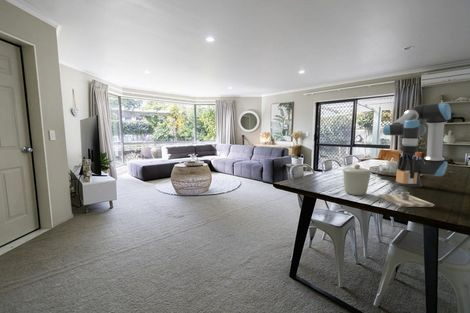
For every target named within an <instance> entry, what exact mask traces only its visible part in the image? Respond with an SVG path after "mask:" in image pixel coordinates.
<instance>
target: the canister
mask: <svg viewBox="0 0 470 313" xmlns="http://www.w3.org/2000/svg"><path fill="white" fill-rule="evenodd" d="M342 172H343V185H344V187H343V188H344V191H345V193H346V194H349V195H353V196H364V195H366V194H367V191H368V188H369V183H370V179H371V174H372V173H373V171H371V170H369V169H367V168H363V167H361V166H360V164H354V165H353V167H345V168H343V169H342Z"/></svg>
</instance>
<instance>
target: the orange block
mask: <svg viewBox="0 0 470 313" xmlns="http://www.w3.org/2000/svg"><path fill="white" fill-rule="evenodd" d="M409 172H410V171H400V170H396V173H395V174H396V175H395V176H396V178H395V182H397V183H398V182H399V183H403V184H408V173H409ZM417 174H418V172H417V173H414V178H413V184H417Z"/></svg>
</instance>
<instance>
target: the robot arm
mask: <svg viewBox="0 0 470 313" xmlns="http://www.w3.org/2000/svg"><path fill="white" fill-rule="evenodd" d="M451 119H452V108H451V105H450V104H449V103H444V102H443V103H442V102H441V103H440V102H439V103H429V104H418V105H416V106H412V107H411V108H409V109H407V110H406V111H404V113H403V115H402V116H400V117H399V118H397V119H396V120H395V121H394V122H392V123H389V124H385V125H383V128H382V132H383V133H382V134H384V136H402V140H401V141H402V143H401V152H402V153H400V154H399V153H398V162H397V168H396V169H397V170H398V171H410V172H409V173H408V184H403V183H399V182H397V185H400V186H403V187H408V188H421V187H422V185H423V184H422V183H423V182H422V181H421V176H420V175H426V176H433V177H442V176H444V175H445V174H446V171H447V167H448V161H446V160H445V157H443V146H444V131H445V124H447V123H448V120H451ZM421 121H425V123H426V125H427V127H428V128H426V126H425V125H424V124H421V123H420V122H421ZM426 132H427V144H426V156H424V157H423V159H422V157H420V156H418V155H416V153H417V151H418V144H419V136H422V135H424V134H425V133H426ZM417 172H418V174H417V184H413V178H414V173H417Z"/></svg>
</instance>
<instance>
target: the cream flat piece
mask: <svg viewBox="0 0 470 313" xmlns="http://www.w3.org/2000/svg"><path fill="white" fill-rule="evenodd" d="M377 196H378V198H380V199H383V200H385V201H388V202H389V203H391V204H393V205H396V206H398V207H406V208H407V207H408V208H409V207H412V208H414V207H415V208H417V207H419V208H421V207H423V208H424V207H425V208H426V207H427V208H431V207H433V206H434V207H435V204H434V203H432V202H429V201H427V200H424V199H421V198H418V197H416V196H413V195H410V192H408V191H401V192H400V194H394V193H392V194H390V193H389V194H386V193H385V194H378V195H377ZM434 207H433V208H434Z"/></svg>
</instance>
